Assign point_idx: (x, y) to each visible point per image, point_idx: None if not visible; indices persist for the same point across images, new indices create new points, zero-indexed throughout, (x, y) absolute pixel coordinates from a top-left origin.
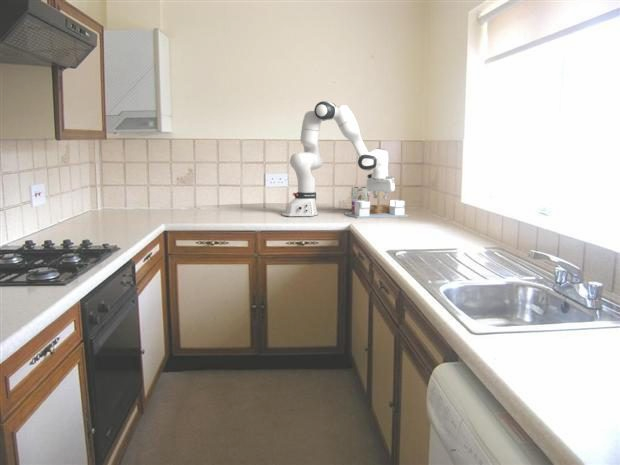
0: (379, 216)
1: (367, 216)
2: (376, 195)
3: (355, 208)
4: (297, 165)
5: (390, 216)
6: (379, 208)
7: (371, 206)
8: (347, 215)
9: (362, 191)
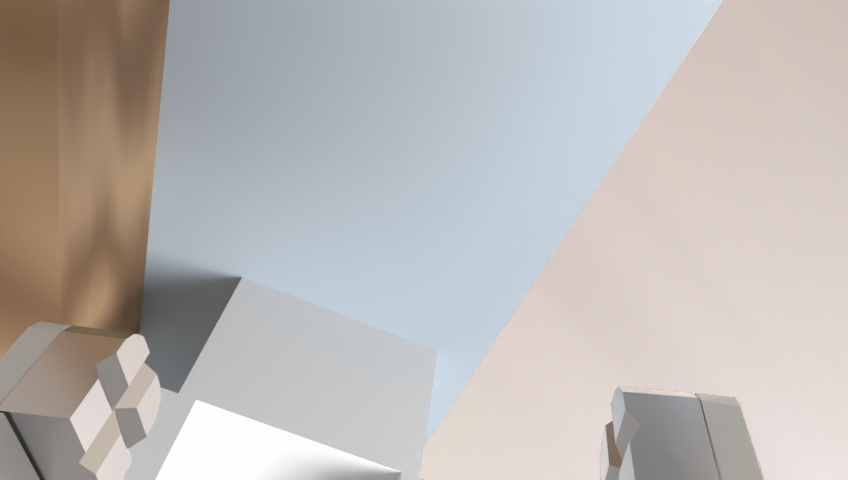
0: (562, 236)
1: (456, 398)
2: (83, 450)
3: None
4: None
5: (711, 1)
6: None
7: (69, 142)
8: None
9: None
